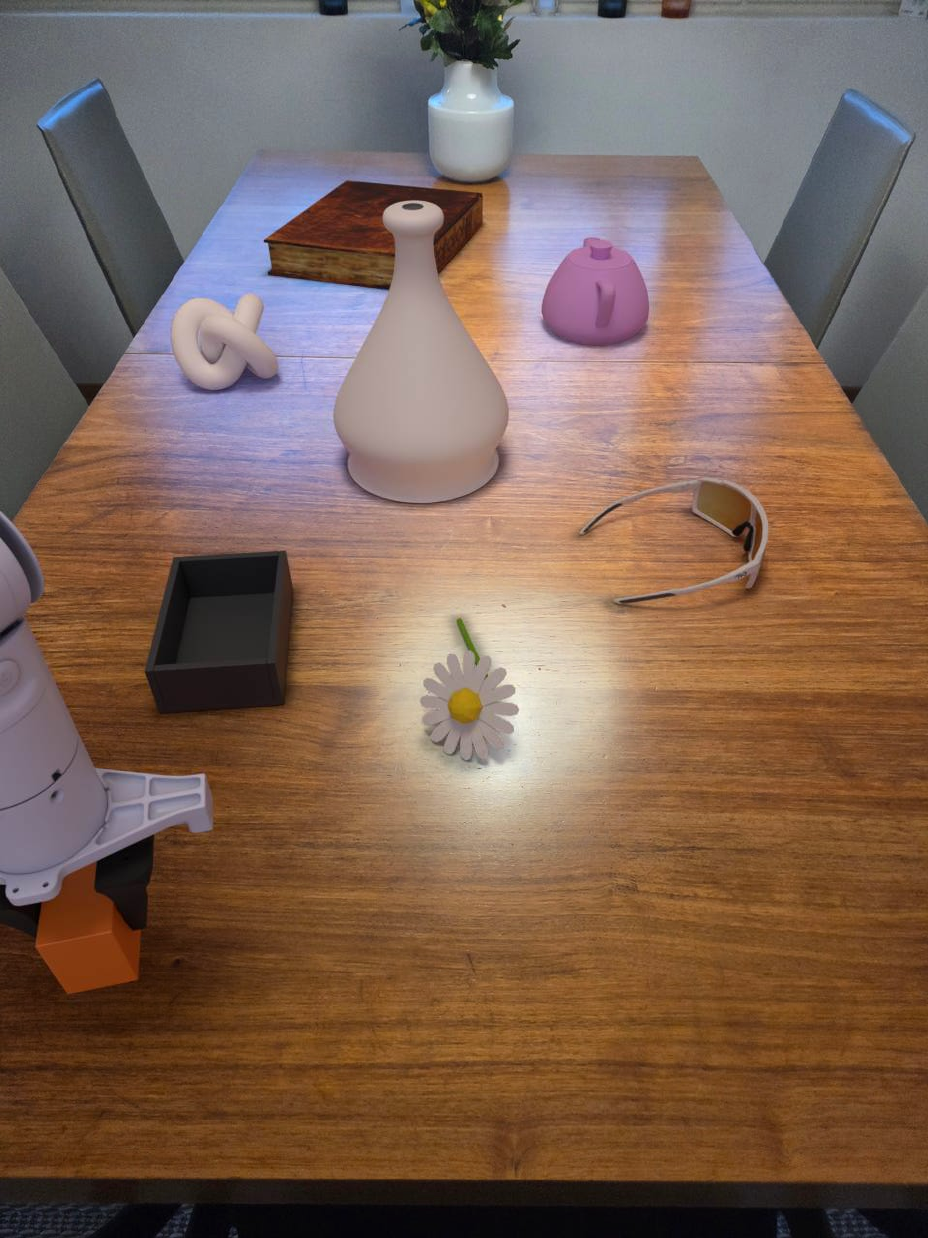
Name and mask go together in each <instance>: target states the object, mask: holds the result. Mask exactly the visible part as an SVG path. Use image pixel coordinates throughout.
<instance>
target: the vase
mask: <svg viewBox="0 0 928 1238" xmlns="http://www.w3.org/2000/svg"><path fill="white" fill-rule="evenodd" d="M443 221H444V215H443V212H442V210H441V209H440V208H439V207H438V206H437V205H435V204H432V203H429V202H425V201H403V202H398V203H395V204H393V205H391V206H389V207H388V208H386V210H385V211H384V213H383V224H384V226H385V227H386V229H387V230H388V231H390V232H391V233H392V234H393V236H394V239H395V265H394V273H393V278H392V283H391V286H390V289H389V290H388V292H387V295H386V297H385V299H384V302H383V305H382V306H381V308H380V311H379V312H378V314H377V316H376V318H375V320H374V323H373V324H372V326H371V329H370V330H369V332H368V335H367V336H366V338H365V340H364V342H363V344H362V345H361V347H360V349H359V351H358V353H357V354H356V356H355V358H354V360H353V362H352V364H351V365H350V368H349V369H348V371H347V373H346V375H345V377H344V380H343V382H342V383H341V385H340V388H339V390H338V392H337V396H336V398H335V401H334V406H333V414H332V415H333V416H332V417H333V425H334V429H335V432H336V434H337V436H338V439H339V440H340V442H341V443H342V445H343V446H344V448H345V449H346V451H347V452H348V453H349V456H348V458H347V469H348V472H349V475H350V477H351V478H352V479H353V481H354V482H355V483H356V484H357V485H358V486H359V487H361V488H362V489H363V490H365V491H367V492H368V493H370V494H372V495H374V496H378V497H380V498H383V499H386V500H391V501H395V502H402V503H410V504H429V503H430V504H431V503H439V502H446V501H450V500H451V501H452V500H454V499H457V498H462V497H464V496H467V495H470V494H472V493H473V492H475V491H478V490H479V489H480V488H482V487H483V486H485V485H486V484H488V482H489V481H491V479H492V478H493V477H494V476H495V475H496V472H497V471H498V468H499V463H500V462H499V461H500V458H499V453H498V451H497V447H498V446H499V444H500V442H501V441H502V439H503V438H504V435H505V433H506V431H507V427H508V424H509V416H510V415H509V414H510V411H509V410H510V409H509V403H508V399H507V396H506V394H505V391H504V389H503V387H502V385H501V383H500V381H499V380H498V377H497V376H496V374H495V372H494V371H493V369H492V367H491V366H490V364H489V362H487V360H486V358H485V356H484V355H483V353H482V352H481V350H480V349H479V347H478V346H477V344H476V342H475V341H474V339H473V338H472V336H471V334H470V333H469V332H468V330H467V328H466V327H465V325H464V323H463V321H462V320H461V319H460V317H459V315H458V314H457V311H455V309H454V307H453V305H452V303H451V302H450V300H449V297H448V296H447V294H446V291H445V290H444V287H443V284H442V282H441V280H440V276H439V273H438V272H437V268H436V262H435V256H434V245H433V240H434V235H435V233H436V231H438V230H439V229H440V228H441V226H442V224H443Z"/></svg>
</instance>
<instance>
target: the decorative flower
mask: <svg viewBox="0 0 928 1238" xmlns="http://www.w3.org/2000/svg"><path fill="white" fill-rule="evenodd" d="M456 623H457V625H458V628H459V629H460V632H461V635H462V637H463V639H464V641H465V644H466V645H467V647H468V649H469V650H467V651H465V652H464V654H463V658H462V668H461V663H460V661H459V658H458V656H457V654H456V653H449V654H448V655H447V656H446V664H447V667H445V666H444V665H443V664H442V663H441V662H436V663H434V664H433V667H432V669H433V673H434V675H435V676H436V678H437V679H438V680H439V681H440V682H439V681H437V680H435V679H433V678H430V677H426V678H424V679H423V684H422V686H423V687H424V689H425V690H426V691H428V692H430V693H432V694H433V695H429V694H427V695H423V696H421V697H420V699H419V703H420V706H422V707H424V708H425V709H435V710H433V711H430V712H427V713H425V714H424V715H422V717H421V719H422V720H421V722H422V724H423V725H424V726H425V727H427V726H429V727H430V726H433V725H436V724H438V723H440V724H438V725H437V726H436V727H435V729H433V731H432V732H431V735H430V737H431V741H433V742H435V743H438V742H441V741H442V740H443V739H445V737H446V736H447V737H446V739H445V741H444V744H443V745H444V746H443V751H444V752H445V753H446V755H452V754H453V753H454V752H455V751H456V749H457V746H458V744H459V742H460V745H459V746H460V747H459V748H460V749H459V752H460V756H461V758H462V759H463V760H464V761H468V760H470V759H471V758H472V756H473V747H474V750H475V753H476V755H477V756H478V757H479V758H480V759H484V760H485V759H487V757H489V748H488V746H487V743H486V741H485V739H486V740H487V742H488V743H489V744H490V745H491V747H492V748H494V749H495V750H502V749H503V748H504V745H505V742H504V740H503V738H502V737H501V736H500V734H499V733H498V732H500V733H502V734H503V735H508V736H509V735H511V734H513V733H514V732H515V726H514V725H513V724H512V723H511V722H510V721H509V720H506V719H504V718H502V717H501V716H507V717H513V716H516V715H518V713H519V711H520V709H519V706H518V705H517V704H515V703H513V702H503V700H506V699H508V698H511V697H513V695H515V694H516V687H515V686H514V685H513V684H504V685H501V686H499V687H497V686H498V685H499V684H500V683H501V682H503V680H504V679H505V677H506V676H507V670H506V668H504V667H502V666H500V667H497V668H495V669H494V670H493V671H492V672H491V673H490V674H489V675H488V673H489V670H490V668H491V667H492V666H491V665H492V658H491V657H490V655H482V657H480V655H479V653H478V652H477V650H476V648H475V645H474V644H473V640H472V639H471V637H470V635H469V632H468V630H467V628H466V626H465V623H464V621H463V619H462V618H461V617H459V618H457V619H456ZM475 666H476V667H475ZM447 668H448V670H447ZM500 701H501V702H500ZM496 730H497V731H498V732H497V731H496Z"/></svg>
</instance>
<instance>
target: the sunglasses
mask: <svg viewBox="0 0 928 1238" xmlns="http://www.w3.org/2000/svg"><path fill="white" fill-rule="evenodd" d="M686 491H687V492H688V491H693V494H692V501H691V502H692V503H691V511H692V512H693V513H694V514H696V515H697V516H699V517H701V518H702V519H704V520H706V521H707V522H708V523H711V524H713V525H714V526H716V527H718V528H719V529H720V530H722V531H724V532H725V533H727V534H728V535H730V536H731V537H732V538H737V537H740V536H742V535H743V534H745V533H746V532H747V534H746V536H745V540H744V544H743V548H742V549H743V550H744V551H745V552H747V553H748V556H747V559H748V562H747V563H746V564H743V565H742V566H740V567H738V568H735V570H732V571H730V572H729V573H728V572H727V573H726V574H725V575H722V576H720V577H717V578H714V579H712V580H709V581H706V582H703V583H700V584H696V585H691V586H688V587H687V586H686V587H680V588H672V589H667V590H666V589H665V590H662V591H656V592H650V593H645V594H639V595H633V596H625V597H619V598H614V599H613V602H614V603H616V604H619V605H626V604H633V603H641V602H647V601H648V602H649V601H654V600H661V599H666V598H673V597H681V596H688V595H693V594H696V593H697V592H701V591H704V590H706V589H710V588H713V587H715V586H719V585H723V584H728V583H733V582H738V581H740V580H741V579H743V578H745V577H746V576H748V575H749V577H748V580H747V583H746V585H745V586H744V588H745V589H751V588H752V587H753V586H754V584H755V582H756V580H757V577H758V575H759V572H760V570H761V568H762V565H763V563H764V559H765V553H766V549H767V546H768V541H769V536H770V534H769V533H770V525H769V524H770V523H769V519H768V515H767V513H766V510H765V508H764V507H763V505H762V503H761V502H760V500H759V499H758V498H757V497H756V495H754V494H753V493H752V492H750V491H749V490H748V489H746V488H744V487H743V486H742V485H740V484H737V483H735V482H734V481H731V480H728V479H718V478H714V477H708V476H703V477H700V478H697V479H691V480H683V481H678V482H672V483H668V484H665V485H661V486H657V487H653V488H650V489H646V490H643V491H640V492H637V493H635V494H631V495H629V496H625V497H622V498H620V499H618V500H616V501H614V502H611V504H609V505H607V506H606V507H604V509H602V510H601V511H600V512H598V513H597V514H596V515H594V517H593V518H591V519H590V520H589V522H588V523H586V525H584V526H583V527H582V529H580V531H579V532H578V533H579V534H580V535H581V536H582V535H585V534H586V533H587V532H588V531H590V529H591V528H592V527H593V526H595V524H597V523H598V522H599V521H600V520H602V519H603V518H604V517H606V516H607V515H608V514H609V513H611V512H613V511H615V510H616V509H618V508H620V507H623V506H625V505H628V504H633V503H635V502H637V501H640V500H641V499H643V498H646V497H649V496H653V495H657V494H663V493H665V494H667V493H672V494H679V493H682V492H686Z"/></svg>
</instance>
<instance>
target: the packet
mask: <svg viewBox="0 0 928 1238" xmlns="http://www.w3.org/2000/svg"><path fill="white" fill-rule="evenodd" d="M96 864H97V861H96V862H93V863H91V864H89V865H87V866H85V867H83V868H81V869H79V870H77V871H74V872H72V873H70V874H68V875H66V876H65V877H64V878H63V881H62V887H61V890H60V892H59V894H58V895H57V896H56V897H55V898H53V899H51V900H48V901H43V902H42V904H41V911H40V917H39V924H38V931H37V938H35V944H34V945H35V946H34V947H35V949H36V950H37V952H38V954H39V955H40V957H41V958H42V959H43V961H44V962H45V963H46V965H47V967H48V968H49V970H50V971H51V972H52V974H53V976H55V978H56V980H57V982H58V983H59V985H60V986H61V987H62V988H63V990H64V992H65V993H66V994H67V995H72V994H77V993H82V992H86V991H92V990H96V989H101V988H105V987H110V986H115V985H120V984H124V983H129V982H130V983H131V982H134V981H138V980H139V972H140V971H139V969H140V951H141V934H142V929H140V930H135V931H133V930H132V929H131V928H130V927H129V926H128V925H127V924H126V923H125V921H124V919H123V916H122V914H121V912H120V910H119V908H118V907H117V906H116V905H115V903H114V902H113V901H112V900H111V899H109V898H108V897H107V896H105V895H103V894H100V893H96V891H95V889H94V883H95V874H96Z"/></svg>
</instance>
